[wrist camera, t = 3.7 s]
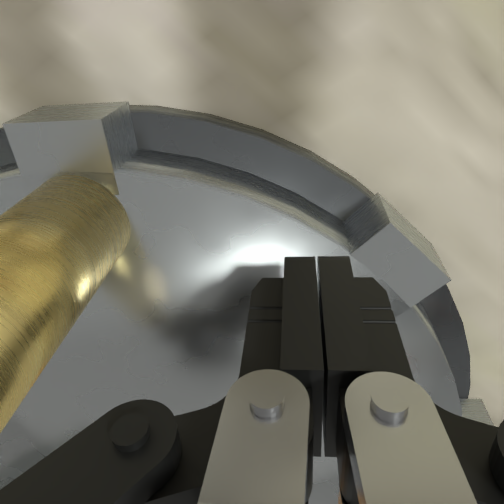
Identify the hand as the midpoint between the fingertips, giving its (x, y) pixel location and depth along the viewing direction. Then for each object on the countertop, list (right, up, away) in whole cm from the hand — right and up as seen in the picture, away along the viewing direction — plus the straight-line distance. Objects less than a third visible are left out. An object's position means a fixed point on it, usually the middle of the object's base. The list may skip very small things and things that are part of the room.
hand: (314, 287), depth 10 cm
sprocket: (-5, -6, +9) cm, 12 cm away
